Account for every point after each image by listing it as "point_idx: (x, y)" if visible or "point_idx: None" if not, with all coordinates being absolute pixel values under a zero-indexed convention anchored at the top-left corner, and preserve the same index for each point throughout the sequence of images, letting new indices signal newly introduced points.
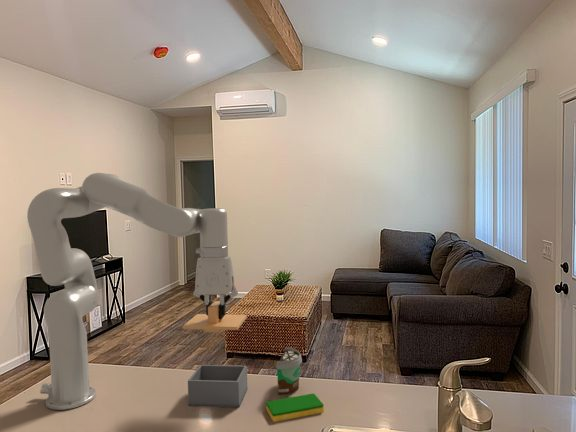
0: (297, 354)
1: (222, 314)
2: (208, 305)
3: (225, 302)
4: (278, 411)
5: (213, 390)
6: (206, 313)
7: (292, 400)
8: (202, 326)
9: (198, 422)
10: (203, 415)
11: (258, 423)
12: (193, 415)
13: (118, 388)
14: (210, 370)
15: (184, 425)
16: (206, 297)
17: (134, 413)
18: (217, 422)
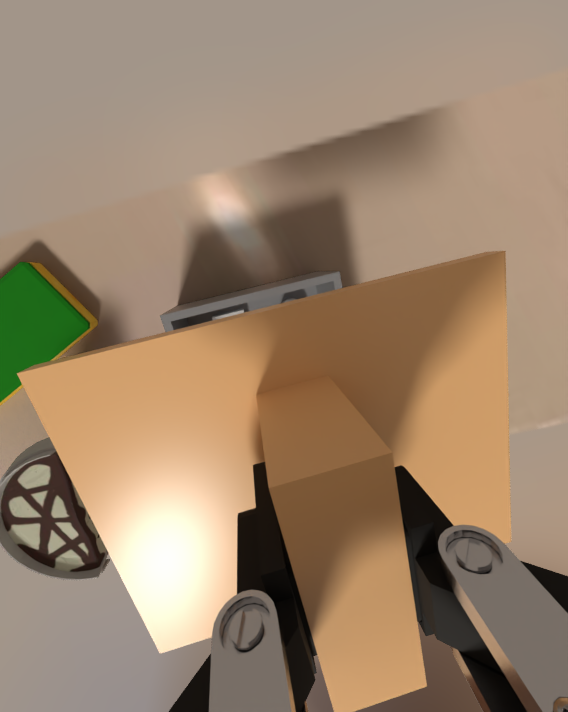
0: (30, 550)
1: (253, 511)
2: (423, 524)
3: (209, 660)
4: (16, 281)
5: (249, 291)
6: (407, 471)
7: (12, 357)
8: (339, 293)
9: (242, 195)
10: (250, 235)
11: (74, 239)
12: (277, 227)
13: (546, 302)
14: None
15: (271, 168)
16: (546, 642)
17: (436, 190)
18: (191, 210)
